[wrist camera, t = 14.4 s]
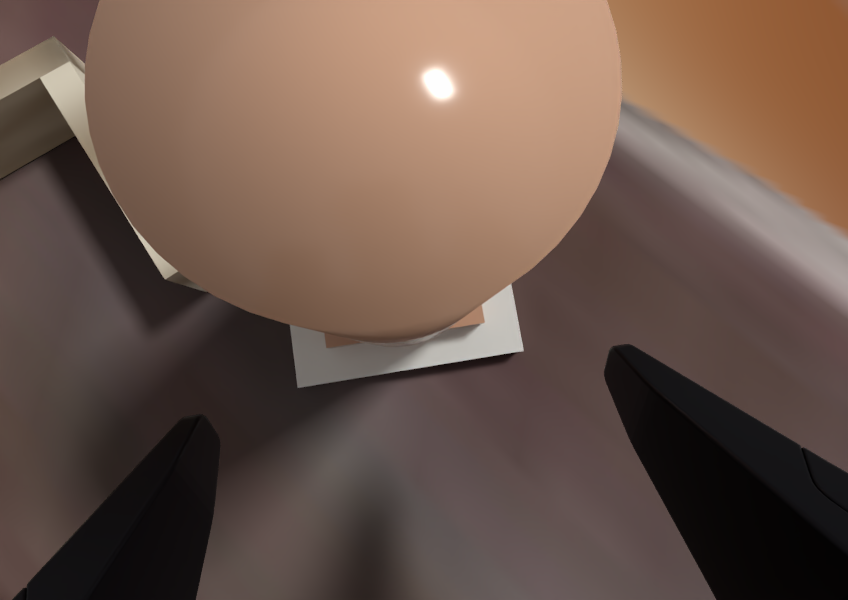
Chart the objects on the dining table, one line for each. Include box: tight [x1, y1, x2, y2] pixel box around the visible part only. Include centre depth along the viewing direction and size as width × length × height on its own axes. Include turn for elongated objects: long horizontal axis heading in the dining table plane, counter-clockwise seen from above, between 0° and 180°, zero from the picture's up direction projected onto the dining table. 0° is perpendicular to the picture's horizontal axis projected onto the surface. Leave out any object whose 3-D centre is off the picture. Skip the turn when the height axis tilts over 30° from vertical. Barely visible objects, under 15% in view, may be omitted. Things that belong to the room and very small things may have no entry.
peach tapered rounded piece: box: [85, 0, 622, 348], centre depth 11 cm, size 7×7×12 cm
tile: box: [290, 284, 524, 388], centre depth 18 cm, size 9×9×1 cm
